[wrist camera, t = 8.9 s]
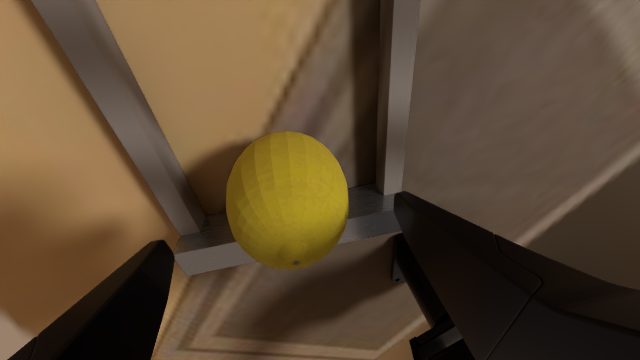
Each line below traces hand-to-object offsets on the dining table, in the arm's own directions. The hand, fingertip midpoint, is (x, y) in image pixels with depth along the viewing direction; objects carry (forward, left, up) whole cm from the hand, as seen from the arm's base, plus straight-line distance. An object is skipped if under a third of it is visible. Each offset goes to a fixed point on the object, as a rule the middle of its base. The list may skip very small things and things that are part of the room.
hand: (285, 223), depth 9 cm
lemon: (0, 0, -6) cm, 7 cm away
